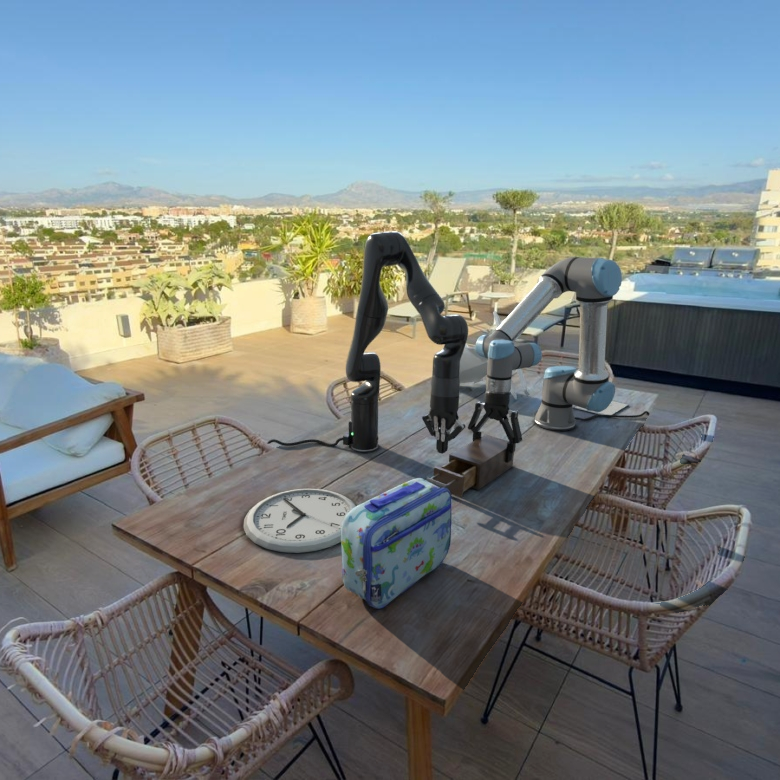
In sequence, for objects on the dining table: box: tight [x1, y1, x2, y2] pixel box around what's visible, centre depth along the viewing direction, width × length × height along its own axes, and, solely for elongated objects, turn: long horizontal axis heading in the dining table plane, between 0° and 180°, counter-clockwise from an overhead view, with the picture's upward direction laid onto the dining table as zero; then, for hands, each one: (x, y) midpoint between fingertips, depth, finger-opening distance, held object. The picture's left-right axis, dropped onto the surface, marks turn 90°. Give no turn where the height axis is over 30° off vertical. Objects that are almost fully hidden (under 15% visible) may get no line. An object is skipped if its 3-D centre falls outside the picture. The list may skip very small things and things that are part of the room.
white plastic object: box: [459, 310, 531, 400], centre depth 245 cm, size 37×45×31 cm
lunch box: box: [340, 477, 452, 610], centre depth 110 cm, size 26×11×21 cm, turn 134°
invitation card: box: [573, 400, 629, 415], centre depth 226 cm, size 21×1×15 cm
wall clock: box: [243, 488, 357, 554], centre depth 136 cm, size 30×2×30 cm
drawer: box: [425, 459, 477, 498], centre depth 153 cm, size 26×10×6 cm, turn 140°
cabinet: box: [448, 434, 515, 491], centre depth 162 cm, size 22×11×8 cm, turn 140°
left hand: (441, 452), depth 142 cm, fingers closed
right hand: (492, 456), depth 167 cm, fingers closed on cabinet, 11 cm apart
